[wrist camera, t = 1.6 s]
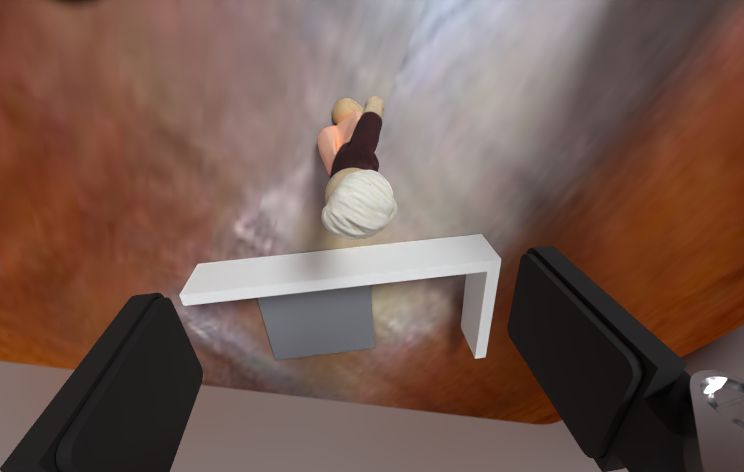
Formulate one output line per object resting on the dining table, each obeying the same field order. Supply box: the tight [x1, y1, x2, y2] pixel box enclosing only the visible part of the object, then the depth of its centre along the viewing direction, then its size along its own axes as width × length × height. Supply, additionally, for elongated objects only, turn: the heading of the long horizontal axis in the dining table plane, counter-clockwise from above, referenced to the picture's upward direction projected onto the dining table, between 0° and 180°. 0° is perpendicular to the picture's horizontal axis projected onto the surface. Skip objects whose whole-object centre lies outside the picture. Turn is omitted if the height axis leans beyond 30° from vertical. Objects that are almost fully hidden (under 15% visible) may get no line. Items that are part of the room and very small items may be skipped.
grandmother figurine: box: [317, 96, 398, 239], centre depth 19 cm, size 8×4×13 cm, turn 172°
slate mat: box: [257, 285, 375, 360], centre depth 32 cm, size 10×10×1 cm
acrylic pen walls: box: [179, 234, 501, 359], centre depth 30 cm, size 24×11×4 cm, turn 93°
